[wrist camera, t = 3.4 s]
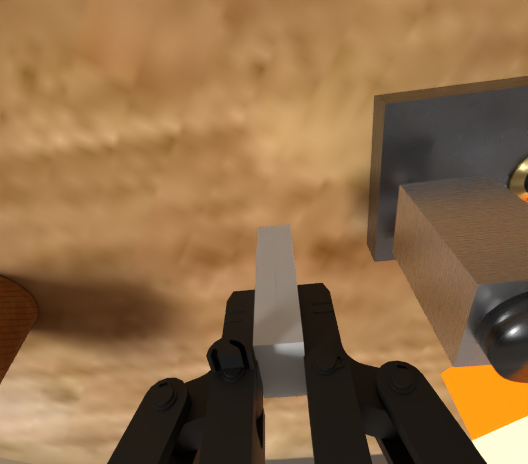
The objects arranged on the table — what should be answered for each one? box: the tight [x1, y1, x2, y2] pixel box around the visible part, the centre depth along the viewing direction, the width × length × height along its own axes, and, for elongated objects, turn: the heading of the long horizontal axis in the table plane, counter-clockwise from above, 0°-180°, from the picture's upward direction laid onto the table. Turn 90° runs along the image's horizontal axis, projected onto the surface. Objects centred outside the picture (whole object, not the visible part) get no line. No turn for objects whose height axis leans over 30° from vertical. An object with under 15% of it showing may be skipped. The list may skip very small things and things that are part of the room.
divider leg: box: [393, 175, 528, 383], centre depth 14 cm, size 4×4×10 cm
